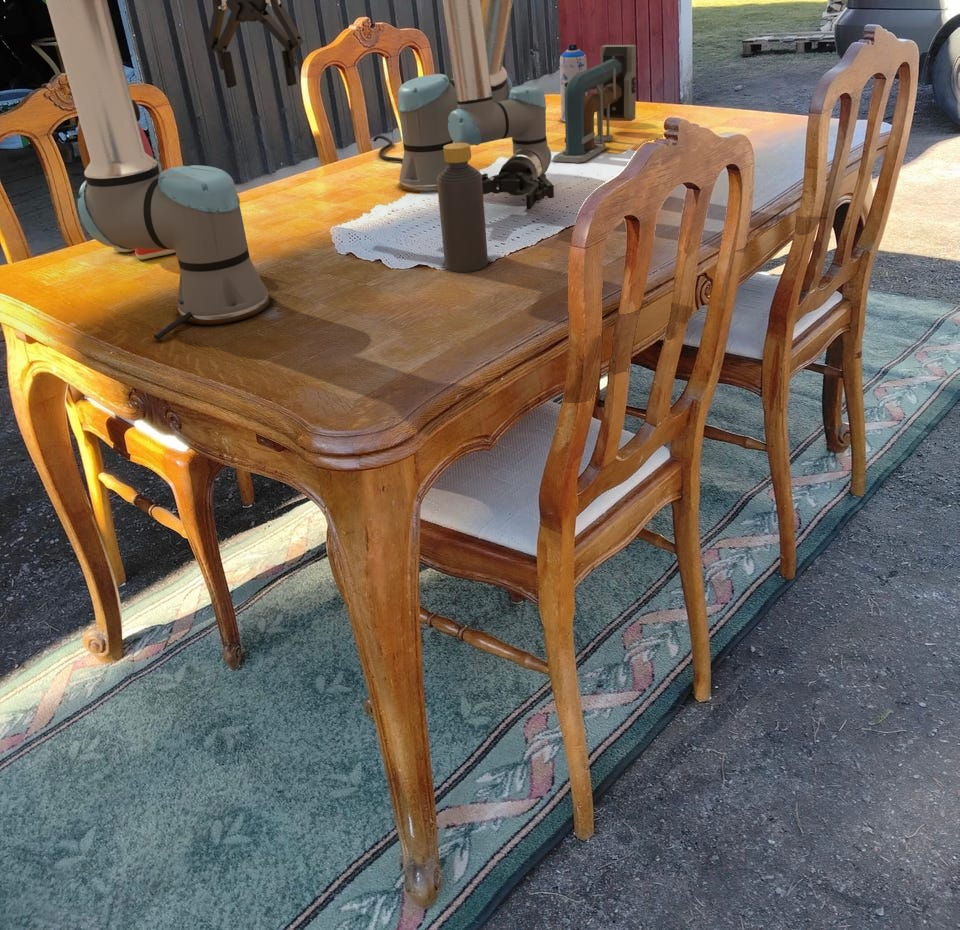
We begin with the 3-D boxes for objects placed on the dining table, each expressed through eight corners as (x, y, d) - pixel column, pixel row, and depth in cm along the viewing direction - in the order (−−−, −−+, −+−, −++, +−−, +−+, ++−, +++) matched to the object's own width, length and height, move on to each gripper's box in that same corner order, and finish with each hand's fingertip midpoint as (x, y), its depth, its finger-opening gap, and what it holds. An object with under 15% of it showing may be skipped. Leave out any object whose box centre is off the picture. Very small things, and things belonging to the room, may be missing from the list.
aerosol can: (559, 122, 275) (557, 47, 265) (562, 117, 282) (559, 42, 272) (587, 121, 274) (585, 45, 263) (589, 115, 280) (587, 41, 270)
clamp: (583, 162, 234) (581, 68, 223) (550, 161, 238) (547, 68, 227) (635, 130, 260) (635, 44, 249) (604, 129, 263) (604, 45, 253)
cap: (476, 157, 167) (475, 143, 166) (459, 164, 164) (458, 150, 163) (456, 155, 170) (454, 141, 169) (438, 161, 167) (437, 147, 166)
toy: (197, 251, 195) (161, 95, 180) (152, 266, 189) (111, 105, 174) (143, 235, 208) (105, 88, 193) (99, 248, 202) (57, 97, 187)
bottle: (496, 261, 177) (488, 144, 166) (469, 274, 172) (459, 155, 161) (463, 255, 181) (454, 141, 171) (436, 267, 176) (424, 151, 166)
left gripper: (308, -38, 184) (325, 80, 195) (194, -30, 191) (216, 83, 202) (291, -35, 178) (309, 87, 189) (173, -27, 185) (198, 90, 196)
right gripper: (578, 191, 204) (557, 221, 186) (465, 191, 210) (435, 220, 193) (577, 155, 200) (556, 182, 183) (462, 156, 207) (431, 182, 189)
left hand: (261, 85), depth 196 cm, fingers open, 13 cm apart
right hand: (494, 202), depth 188 cm, fingers open, 13 cm apart
